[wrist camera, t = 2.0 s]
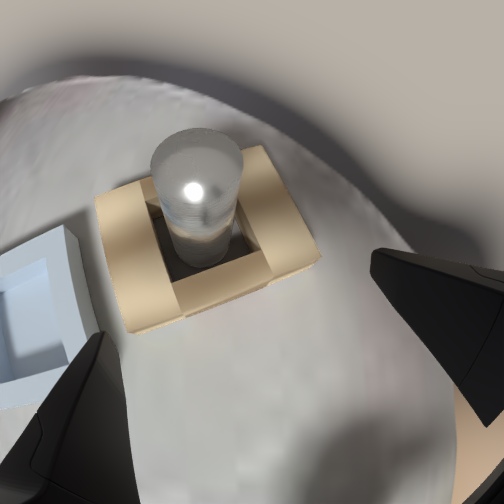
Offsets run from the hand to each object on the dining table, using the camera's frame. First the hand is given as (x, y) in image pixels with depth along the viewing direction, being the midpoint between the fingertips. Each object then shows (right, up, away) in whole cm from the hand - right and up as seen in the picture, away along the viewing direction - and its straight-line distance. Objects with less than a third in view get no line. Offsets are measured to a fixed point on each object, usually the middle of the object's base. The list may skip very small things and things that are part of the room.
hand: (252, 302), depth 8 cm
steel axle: (-4, +2, +13) cm, 14 cm away
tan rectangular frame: (-4, +2, +13) cm, 14 cm away
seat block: (-18, -5, +9) cm, 20 cm away
